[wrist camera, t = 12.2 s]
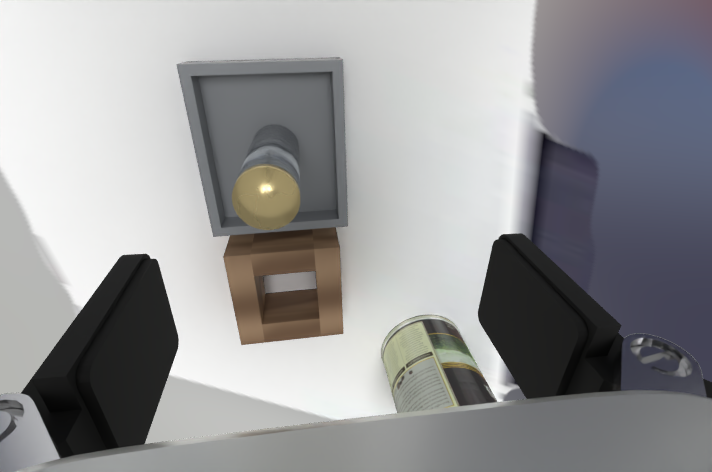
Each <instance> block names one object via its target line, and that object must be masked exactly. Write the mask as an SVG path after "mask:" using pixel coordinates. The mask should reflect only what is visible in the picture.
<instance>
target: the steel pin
mask: <svg viewBox="0 0 712 472" xmlns="http://www.w3.org/2000/svg"><path fill="white" fill-rule="evenodd" d="M232 203H233V207H234V210H235V212H236V213H237V215H238V216H239V217H240V218H241V219H242V221H244V222H245V223H246V224H248V225H250V226H252V227H254V228H257V229H261V230H275V229H279V228H281V227H284V226H285V225H287V224H288V223H290V222H291V221H292V220H293V219H294V218H295V216H296V215H297V213H298V210H299V207H300V169H299V144H298V141H297V138H296V136H295V135H294V134H293V132H292V131H290V130H289V129H288V128H286V127H284V126H281V125H276V124H272V125H267V126H264V127H263V128H261V129H260V130H259V131H258V132H257V133H256V134H255V136H254V138H253V141H252V143H251V146H250V148H249V151H248V153H247V156H246V158H245V161H244V163H243V166H242V168H241V170H240V173H239V175H238V178H237V180H236V183H235V185H234V188H233V192H232Z"/></svg>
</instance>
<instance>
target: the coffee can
mask: <svg viewBox="0 0 712 472" xmlns="http://www.w3.org/2000/svg"><path fill="white" fill-rule="evenodd" d="M381 354H382V360H383V363H384V365H385V368H386V372H387V376H388V380H389V384H390V387H391V391H392V395H393V399H394V403H395V406H396V410H397V413H405V412H413V411H422V410H431V409H440V408H449V407H458V406H467V405H476V404H485V403H495V402H497V400H496V398H495V396H494V395H493V393H492V391H491V389H490V387H489V386H488V384H487V382H486V380H485V379H484V377H483V375H482V373H481V371H480V370H479V368H478V366H477V364H476V362H475V361H474V359H473V357H472V355H471V353H470V351H469V350H468V348H467V346H466V344H465V342H464V340H463V339H462V337H461V335H460V332H459V330H458V328H457V327H456V326H455V325H454V324H453V323H452V322H451V321H450V320H448V319H446V318H443V317H440V316H435V315H423V316H417V317H414V318H411V319H408V320H406V321H404V322H402V323H401V324H399V325H398V326H396V327H395V328H394V329H393V330H392V331H391V332H390V333H389V334H388V336H387V337H386V339H385V340H384V343H383V345H382V351H381Z"/></svg>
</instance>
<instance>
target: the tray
mask: <svg viewBox="0 0 712 472" xmlns="http://www.w3.org/2000/svg"><path fill="white" fill-rule="evenodd" d="M177 68H178V73H179V78H180V82H181V87H182V92H183V96H184V101H185V106H186V110H187V115H188V120H189V124H190V129H191V134H192V139H193V143H194V148H195V153H196V157H197V162H198V167H199V171H200V176H201V181H202V185H203V190H204V195H205V200H206V204H207V209H208V214H209V218H210V223H211V228H212V232H213V237H216V236H229V235H241V234H254V233H267V232H280V231H293V230H306V229H319V228H332V227H344V226H348V216H347V184H346V151H345V118H344V85H343V60H342V59H340V58H305V59H268V60H231V61H194V62H184V63H180V64H177ZM272 124H276V125H281V126H284V127H286V128H288V129H289V130H290V131H292V132H293V134H294V135H295V136H296V138H297V141H298V144H299V169H300V207H299V210H298V213H297V215H296V216H295V218H294V219H293V220H292V221H291V222H290V223H288V224H287V225H285V226H284V227H281V228H279V229H275V230H261V229H257V228H254V227H252V226H250V225H248V224H246V223H245V222H244V221H242V219H241V218H240V217H239V216H238V215H237V213H236V212H235V210H234V207H233V203H232V192H233V188H234V185H235V183H236V180H237V178H238V175H239V173H240V170H241V168H242V166H243V163H244V161H245V158H246V156H247V153H248V151H249V148H250V146H251V143H252V141H253V138H254V136H255V134H256V133H257V132H258V131H259V130H260V129H261V128H263V127H264V126H267V125H272Z"/></svg>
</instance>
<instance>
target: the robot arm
mask: <svg viewBox="0 0 712 472" xmlns="http://www.w3.org/2000/svg"><path fill="white" fill-rule="evenodd" d="M478 318H479V322H480V324H481V325H482V327H483V329H484V330H485V332H486V334H487V335H488V337H489V338H490V340H491V342H492V343H493V345H494V347H495V348H496V350H497V351H498V353H499V355H500V356H501V358H502V359H503V361H504V363H505V364H506V366H507V368H508V369H509V371H510V372H511V374H512V376H513V377H514V379H515V381H516V382H517V384H518V385H519V387H520V389H521V390H522V392H523V394H524V395H525V397H526V398H527V399H522V400H513V401H504V402H495V403H485V404H476V405H467V406H458V407H449V408H440V409H431V410H422V411H413V412H405V413H396V414H387V415H378V416H370V417H361V418H352V419H344V420H335V421H327V422H318V423H311V424H310V423H309V424H301V425H293V426H285V427H276V428H268V429H260V430H251V431H244V432H235V433H227V434H218V435H210V436H202V437H194V438H187V439H179V440H172V441H165V442H157V443H150V444H145V441H146V438H147V435H148V432H149V429H150V427H151V424H152V421H153V418H154V415H155V412H156V409H157V406H158V403H159V401H160V398H161V395H162V392H163V389H164V387H165V384H166V381H167V378H168V375H169V372H170V369H171V367H172V364H173V361H174V358H175V355H176V352H177V349H178V334H177V330H176V326H175V323H174V319H173V315H172V312H171V308H170V304H169V301H168V297H167V293H166V290H165V286H164V282H163V279H162V275H161V271H160V267H159V264H158V261H157V260H156V259H150V257H149V255H147V254H134V255H122V256H121V257H120V258H119V259H118V261H117V262H116V264H115V265H114V266H113V268H112V269H111V270H110V272H109V273H108V275H107V276H106V277H105V279H104V280H103V281H102V283H101V284H100V286H99V287H98V288H97V290H96V291H95V292H94V294H93V295H92V297H91V298H90V299H89V301H88V302H87V303H86V305H85V306H84V308H83V309H82V310H81V312H80V313H79V314H78V315H77V317H76V318H75V320H74V321H73V322H72V324H71V325H70V327H69V328H68V329H67V331H66V332H65V333H64V335H63V336H62V338H61V339H60V340H59V342H58V343H57V344H56V346H55V347H54V349H53V350H52V351H51V353H50V354H49V356H48V357H47V358H46V359H45V361H44V362H43V364H42V365H41V366H40V368H39V369H38V370H37V372H36V373H35V374H34V376H33V377H32V379H31V380H30V382H29V383H28V384H27V386H26V387H25V388H24V390H23V391H22V392H21V393H5V394H1V395H0V472H712V382H710V381H707V380H705V379H703V376H702V371H701V369H700V366H699V364H698V362H697V361H696V360H695V359H694V358H693V357H692V356H691V355H690V354H689V353H687V352H686V351H685V350H684V349H682V348H681V347H679V346H677V345H676V344H674V343H672V342H670V341H668V340H665V339H663V338H660V337H657V336H653V335H649V334H640V333H636V334H631V335H628V336H627V337H625V338H623V337H622V336H621V335H620V334H619V333H618V332H619V329H620V327H621V325H620V324H619V323H618V322H617V321H616V320H615V319H614V318H613V317H612V316H611V315H610V314H609V313H607V312H606V311H605V310H604V309H603V308H602V307H601V306H600V305H599V304H598V303H597V302H596V301H595V300H594V299H592V298H591V297H590V296H589V295H588V294H587V293H586V292H585V291H584V290H583V289H582V288H581V287H580V286H579V285H577V284H576V283H575V282H574V281H573V280H572V279H571V278H570V277H569V276H568V275H567V274H566V273H565V272H563V271H562V270H561V269H560V268H559V267H558V266H557V265H556V264H555V263H554V262H553V261H552V260H551V259H550V258H548V257H547V256H546V255H545V254H544V253H543V252H542V251H541V250H540V249H539V248H538V247H537V246H536V245H534V244H533V243H532V242H531V241H530V240H529V239H528V238H527V237H526V236H525V235H523V234H503V235H501V236H500V237H499V239H498V240H495V241H494V243H493V246H492V251H491V255H490V260H489V264H488V269H487V273H486V278H485V283H484V287H483V292H482V296H481V301H480V305H479V310H478Z"/></svg>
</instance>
